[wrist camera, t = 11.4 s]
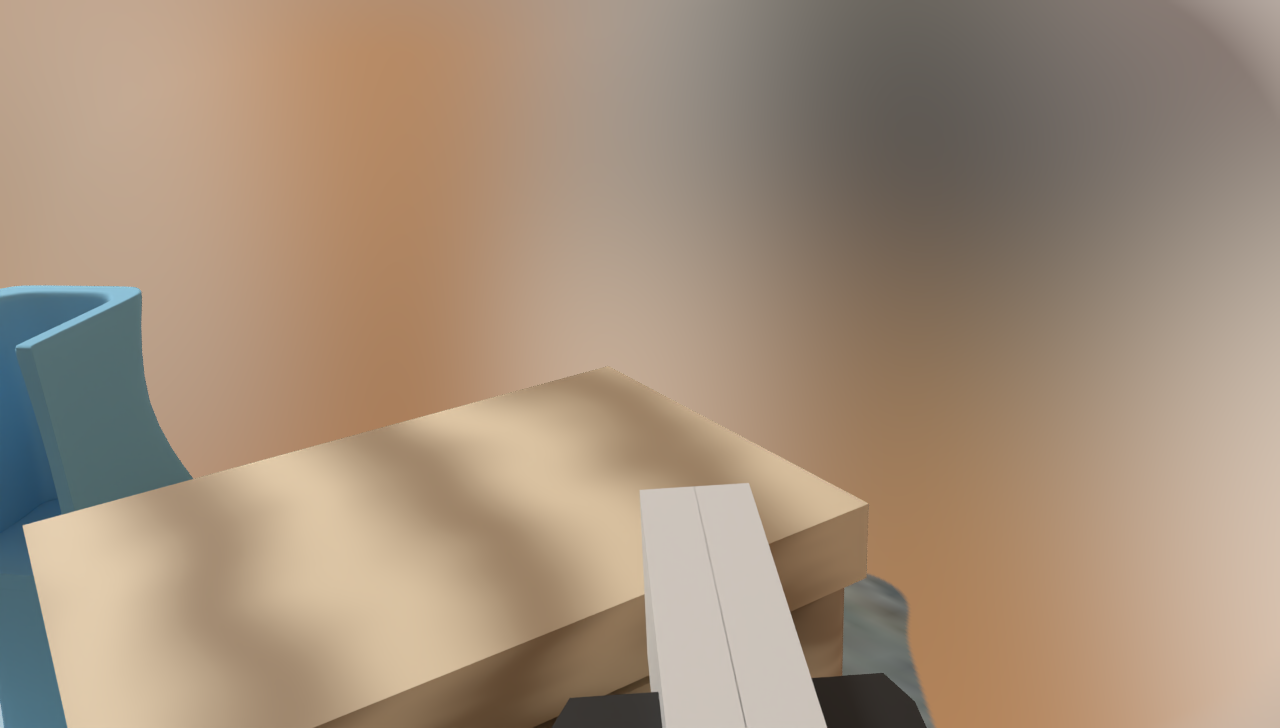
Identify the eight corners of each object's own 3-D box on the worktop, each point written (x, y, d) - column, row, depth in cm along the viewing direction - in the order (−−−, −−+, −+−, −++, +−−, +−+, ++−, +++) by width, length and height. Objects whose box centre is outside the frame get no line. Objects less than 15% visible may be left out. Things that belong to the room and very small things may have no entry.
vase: (-11, 753, 49) (-145, 342, 42) (101, 650, 56) (3, 284, 49) (143, 771, 48) (30, 347, 40) (238, 662, 55) (157, 286, 48)
